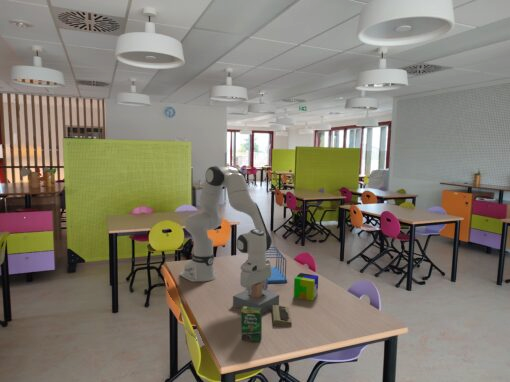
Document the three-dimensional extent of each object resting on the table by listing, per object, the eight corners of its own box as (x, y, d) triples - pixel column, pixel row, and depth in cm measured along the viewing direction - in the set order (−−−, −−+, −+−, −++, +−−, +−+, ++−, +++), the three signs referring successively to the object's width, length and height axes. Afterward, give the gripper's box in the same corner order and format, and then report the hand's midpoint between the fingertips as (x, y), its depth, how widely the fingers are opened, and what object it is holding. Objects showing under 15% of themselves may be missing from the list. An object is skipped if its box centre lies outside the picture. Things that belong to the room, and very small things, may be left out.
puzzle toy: (317, 293, 191) (318, 275, 190) (312, 300, 181) (313, 281, 180) (299, 290, 195) (300, 272, 194) (293, 297, 186) (294, 278, 185)
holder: (232, 305, 173) (233, 295, 173) (253, 296, 186) (253, 286, 185) (258, 315, 163) (259, 304, 163) (278, 304, 176) (279, 294, 175)
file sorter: (287, 283, 206) (287, 257, 205) (257, 284, 203) (258, 257, 202) (277, 269, 231) (278, 246, 229) (251, 270, 228) (251, 246, 226)
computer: (291, 327, 154) (292, 319, 153) (273, 326, 154) (273, 319, 154) (288, 311, 169) (288, 304, 169) (271, 311, 169) (271, 304, 169)
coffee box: (240, 340, 141) (240, 308, 140) (242, 336, 144) (242, 305, 143) (260, 343, 139) (260, 310, 138) (261, 339, 142) (262, 307, 141)
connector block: (250, 303, 174) (250, 283, 173) (255, 300, 177) (255, 281, 176) (256, 305, 172) (257, 285, 171) (261, 302, 175) (262, 283, 174)
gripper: (264, 257, 182) (264, 283, 184) (238, 266, 167) (237, 295, 168) (274, 260, 179) (274, 286, 180) (248, 269, 163) (248, 299, 164)
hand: (256, 291), depth 174 cm, fingers open, 8 cm apart
